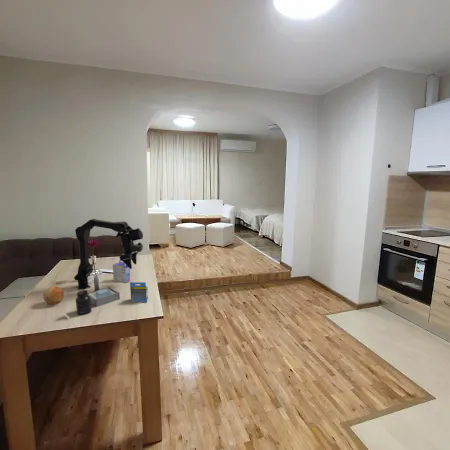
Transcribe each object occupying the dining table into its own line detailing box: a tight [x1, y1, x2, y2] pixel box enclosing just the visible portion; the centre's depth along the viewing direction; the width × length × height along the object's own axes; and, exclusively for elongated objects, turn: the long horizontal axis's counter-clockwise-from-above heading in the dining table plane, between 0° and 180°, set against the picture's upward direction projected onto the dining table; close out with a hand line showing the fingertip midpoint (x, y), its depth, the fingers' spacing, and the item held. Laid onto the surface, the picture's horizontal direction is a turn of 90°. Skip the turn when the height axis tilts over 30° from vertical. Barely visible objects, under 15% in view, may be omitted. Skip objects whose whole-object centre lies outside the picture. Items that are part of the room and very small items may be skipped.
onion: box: [42, 285, 65, 305], centre depth 155 cm, size 10×10×10 cm
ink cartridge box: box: [112, 259, 131, 284], centre depth 187 cm, size 10×6×14 cm, turn 78°
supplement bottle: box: [75, 289, 93, 316], centre depth 144 cm, size 7×7×12 cm
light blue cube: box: [96, 288, 109, 299], centre depth 159 cm, size 5×5×5 cm
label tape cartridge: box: [129, 281, 149, 304], centre depth 158 cm, size 9×4×12 cm, turn 91°
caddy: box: [89, 276, 114, 299], centre depth 159 cm, size 14×11×12 cm
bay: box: [88, 285, 121, 308], centre depth 159 cm, size 13×14×5 cm
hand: (133, 266), depth 172 cm, fingers open, 9 cm apart
